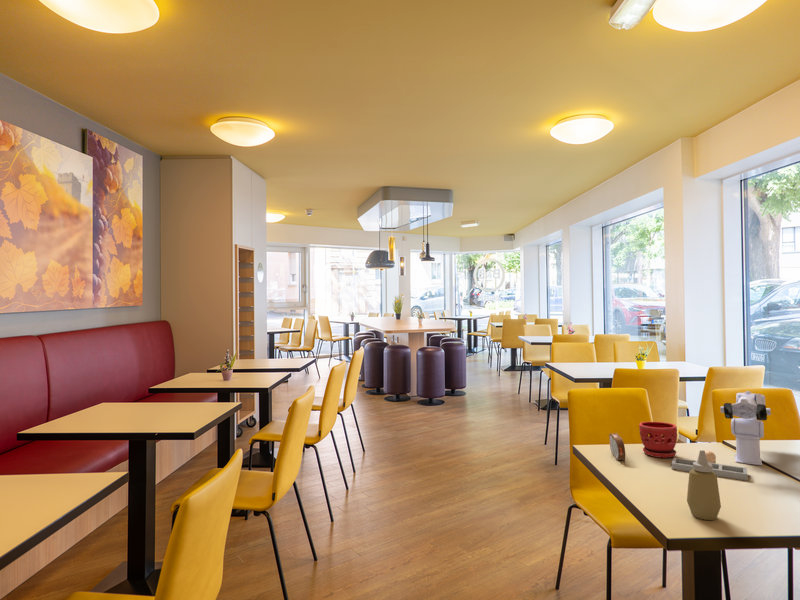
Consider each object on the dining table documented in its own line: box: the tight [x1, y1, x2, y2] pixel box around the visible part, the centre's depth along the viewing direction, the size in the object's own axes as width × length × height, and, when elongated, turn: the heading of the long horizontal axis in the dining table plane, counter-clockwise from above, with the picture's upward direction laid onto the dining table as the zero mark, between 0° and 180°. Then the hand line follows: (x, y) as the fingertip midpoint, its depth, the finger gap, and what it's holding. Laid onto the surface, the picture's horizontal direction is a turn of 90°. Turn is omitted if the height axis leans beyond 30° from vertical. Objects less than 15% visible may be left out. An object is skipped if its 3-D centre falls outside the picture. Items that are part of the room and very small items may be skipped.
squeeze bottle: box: [686, 450, 722, 521], centre depth 133 cm, size 8×8×18 cm
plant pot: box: [638, 421, 678, 459], centre depth 190 cm, size 13×13×12 cm
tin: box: [608, 432, 627, 461], centre depth 187 cm, size 15×3×8 cm, turn 168°
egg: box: [705, 450, 717, 464], centre depth 179 cm, size 4×4×4 cm
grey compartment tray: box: [671, 457, 748, 482], centre depth 170 cm, size 8×22×2 cm, turn 56°
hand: (743, 415), depth 165 cm, fingers open, 7 cm apart
